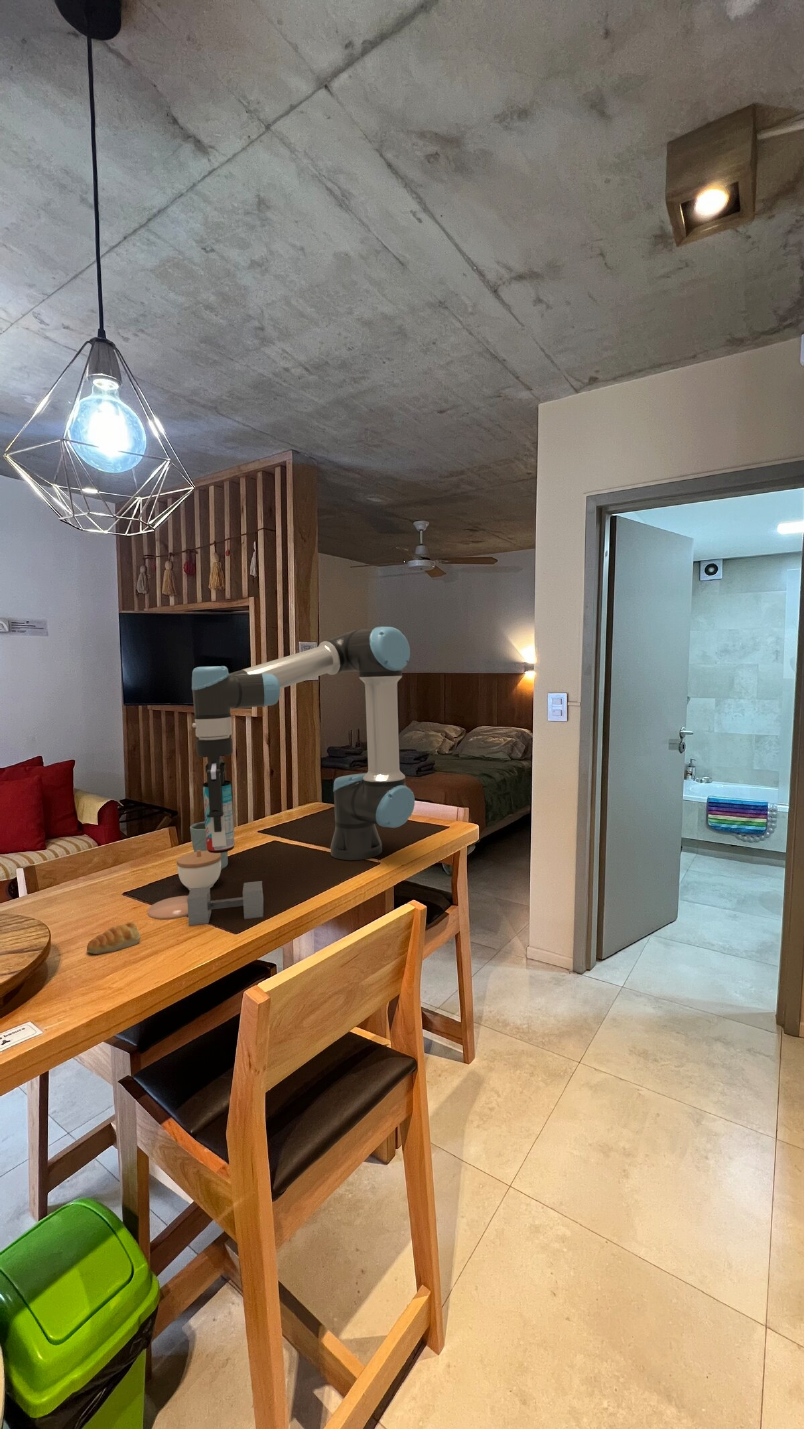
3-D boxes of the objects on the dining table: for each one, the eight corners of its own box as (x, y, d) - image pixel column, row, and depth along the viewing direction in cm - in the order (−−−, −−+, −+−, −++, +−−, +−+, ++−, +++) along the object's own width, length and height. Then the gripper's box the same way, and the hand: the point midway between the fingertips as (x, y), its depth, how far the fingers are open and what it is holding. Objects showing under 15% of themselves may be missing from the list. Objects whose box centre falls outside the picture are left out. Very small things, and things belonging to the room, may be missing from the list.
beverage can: (220, 844, 134) (216, 779, 132) (240, 847, 131) (236, 781, 130) (200, 852, 128) (196, 784, 127) (221, 855, 126) (216, 786, 125)
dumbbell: (263, 901, 138) (262, 876, 138) (262, 916, 129) (261, 890, 129) (194, 909, 135) (192, 883, 135) (188, 925, 126) (187, 898, 126)
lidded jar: (168, 892, 146) (166, 855, 146) (198, 877, 156) (196, 842, 156) (203, 896, 142) (201, 859, 142) (231, 881, 152) (229, 846, 152)
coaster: (206, 895, 143) (206, 893, 143) (200, 915, 131) (200, 912, 131) (153, 901, 140) (153, 899, 140) (142, 922, 129) (142, 919, 129)
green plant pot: (212, 874, 158) (209, 830, 157) (184, 870, 163) (181, 827, 162) (237, 862, 168) (235, 821, 167) (210, 858, 172) (208, 818, 171)
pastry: (93, 961, 112) (92, 941, 112) (82, 950, 117) (80, 931, 117) (143, 943, 119) (142, 925, 119) (130, 934, 124) (129, 916, 123)
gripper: (200, 734, 136) (206, 832, 138) (190, 743, 118) (197, 856, 120) (234, 732, 138) (239, 828, 140) (229, 741, 119) (235, 852, 121)
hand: (220, 841), depth 130 cm, fingers closed on beverage can, 6 cm apart
